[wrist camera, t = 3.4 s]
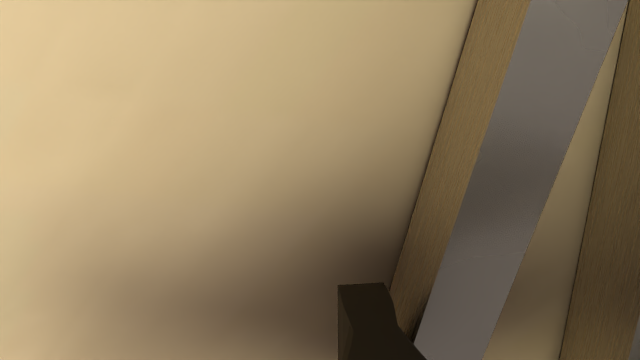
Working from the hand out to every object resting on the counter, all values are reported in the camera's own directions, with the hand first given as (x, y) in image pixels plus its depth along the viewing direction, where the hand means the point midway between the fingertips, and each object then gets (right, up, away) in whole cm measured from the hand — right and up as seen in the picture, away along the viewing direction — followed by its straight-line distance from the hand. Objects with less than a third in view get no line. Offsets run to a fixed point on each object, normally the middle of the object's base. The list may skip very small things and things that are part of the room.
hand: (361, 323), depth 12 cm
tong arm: (+1, +1, +1) cm, 2 cm away
